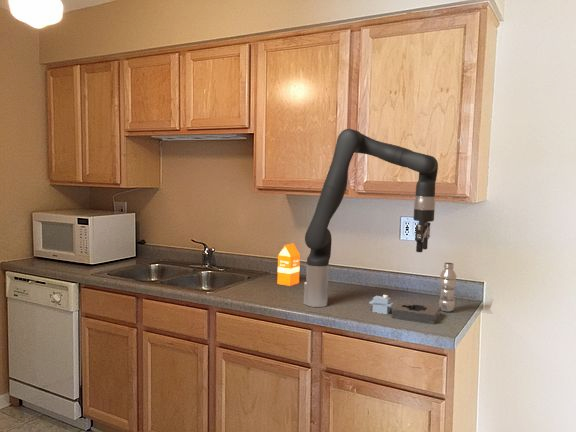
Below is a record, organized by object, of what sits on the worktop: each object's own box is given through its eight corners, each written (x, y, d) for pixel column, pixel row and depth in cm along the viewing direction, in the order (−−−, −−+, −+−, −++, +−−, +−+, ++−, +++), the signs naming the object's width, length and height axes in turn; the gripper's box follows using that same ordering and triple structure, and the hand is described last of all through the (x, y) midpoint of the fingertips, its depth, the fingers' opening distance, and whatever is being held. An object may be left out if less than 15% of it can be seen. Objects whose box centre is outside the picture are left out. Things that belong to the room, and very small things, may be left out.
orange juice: (299, 282, 250) (300, 243, 248) (290, 285, 242) (291, 245, 241) (286, 280, 254) (287, 242, 252) (276, 283, 246) (277, 244, 245)
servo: (368, 311, 200) (369, 294, 199) (372, 309, 203) (372, 292, 203) (390, 314, 196) (391, 297, 195) (393, 312, 199) (394, 295, 199)
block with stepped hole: (391, 317, 191) (392, 309, 191) (400, 309, 204) (401, 301, 203) (433, 324, 184) (434, 315, 184) (440, 315, 196) (440, 306, 196)
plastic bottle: (454, 309, 206) (456, 262, 204) (455, 313, 199) (457, 265, 197) (438, 308, 207) (440, 261, 206) (438, 312, 201) (441, 264, 199)
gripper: (418, 206, 193) (416, 247, 195) (409, 208, 181) (407, 252, 182) (438, 208, 190) (435, 249, 191) (430, 209, 177) (427, 254, 179)
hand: (421, 250), depth 187 cm, fingers open, 8 cm apart
